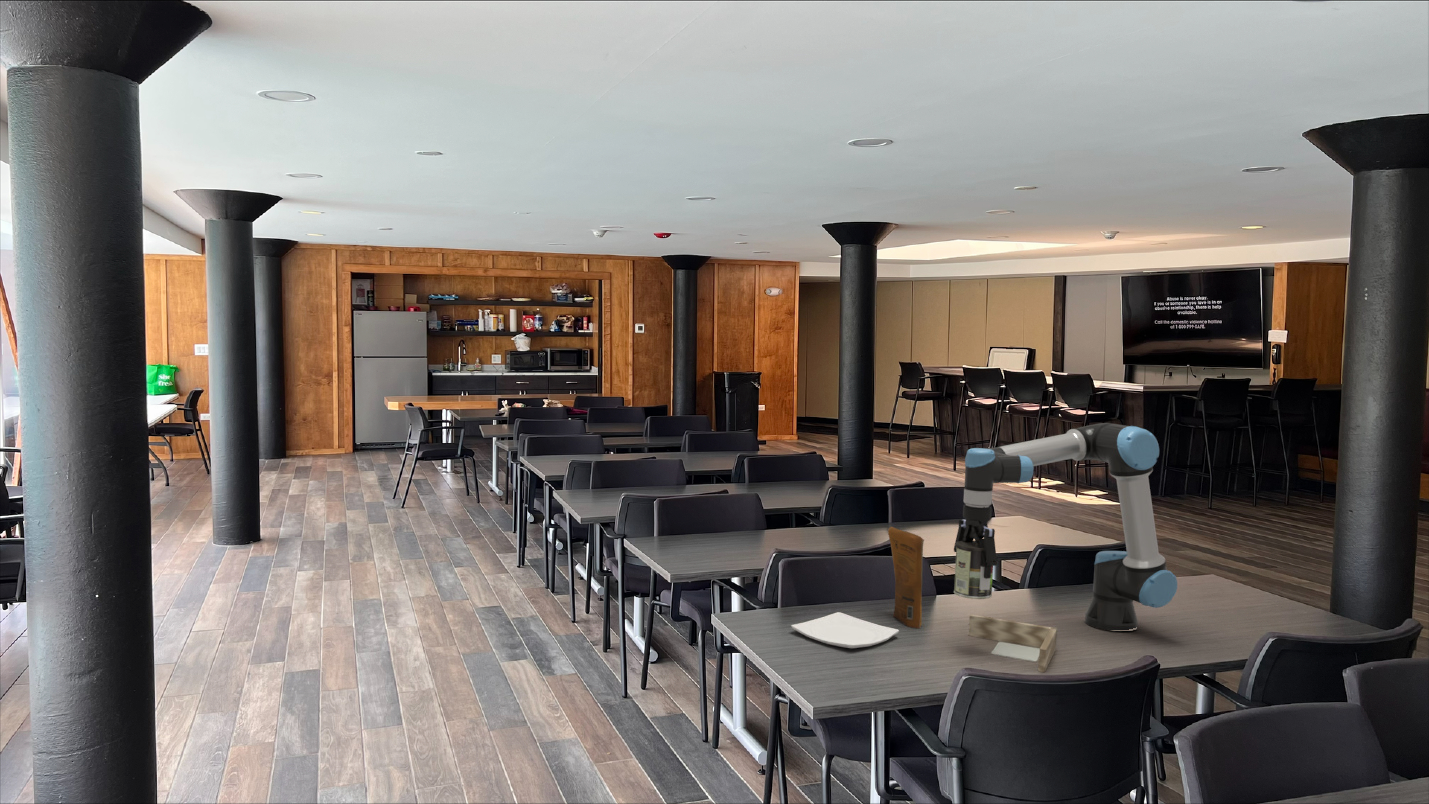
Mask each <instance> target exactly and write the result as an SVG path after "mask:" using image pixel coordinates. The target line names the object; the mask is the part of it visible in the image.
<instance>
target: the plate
mask: <svg viewBox="0 0 1429 804" xmlns="http://www.w3.org/2000/svg"><path fill="white" fill-rule="evenodd" d="M790 626H791V628H792V629H793V630H794V631H796V632H797V633H800V634H801V635H804V636H805V637H807V638H810V639H812V640H815V641H818V642H821V643H823V644H826V645H831V646H835V647H840V648H847V649H857V648H866V647H872V646H874V645H878V644H881V643H883V642H887V641H888V640H889V639H891V638H893V637H895V635H897V634H899V632H900V630H899V629H897V628H893V627H888V626H884V625H880V624H876V623H873V622H870V621H867V620H863V619H861V618H858V617H855V616H852V615H848V614H846V613H843V612H840V611H839V612H838V611H837V612H834V613H831V614H828V615H825V616H823V617H819V618H818V617H817V618H815V619H811V620H807V621H805V622H800V623H795V624H791V625H790Z"/></svg>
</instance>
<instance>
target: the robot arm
mask: <svg viewBox="0 0 1429 804" xmlns="http://www.w3.org/2000/svg"><path fill="white" fill-rule="evenodd" d="M1159 456H1160V446H1159V443H1158V440H1157V437H1156V436H1155V435H1154V434H1153V433H1152V432H1151V431H1149V430H1147V429H1145V428H1141V427H1138V426H1135V425H1130V426H1129V425H1124V424H1117V423H1112V422H1111V423H1110V422H1104V423H1103V422H1102V423H1100V422H1099V423H1095V424H1089V425H1086V426H1080V427H1076V428H1071V429H1068V430H1067V431H1066V433H1064V434H1058V435H1051V436H1048V437H1042V438H1037V439H1033V440H1028V441H1027V440H1026V441H1023V442H1018V443H1011V444H1007V445H1002V446H997V447H992V448H990V447H989V448H985V447H983V448H981V447H980V448H979V447H974V448H973V447H972V448H970V449H968V450H967V451H966V455H965V459H964V463H965V464H964V467H965V470H964V472H965V473H964V488H963V503H964V504H963V505H962V506H963V507H962V518H963V519H959V520H958V529H957V533H956V537H955V543H954V546H953V552H954V553H956V547H957V546H956V542H958V541H963V542H973V541H975V542H976V543H977V544H978V547H979V548H985V551H982V554H981V559H982V563H983V564H982V565H981V569H980V588H979V589H980V590H990V578H991V567H992V566H993V567H994V566H995V567H997V565H998V560H997V559H998V558H997V552H996V542H995V533H996V531H995V528H989V527H988V521H990V520H991V519H992V506H991V505H992V503H993V489H994V488H993V487H994V484H1013V483H1014V484H1021V483H1028V482H1029V481H1031V480H1032V478H1033V476H1034V467H1037V466H1042V465H1047V464H1050V463H1051V464H1052V463H1056V462H1061V461H1066V460H1073V461H1076V462H1078V461H1083V460H1084V461H1085V460H1090V461H1091V460H1092V461H1099V462H1103V463H1108V469H1109V475H1110V476H1111V477H1113V478H1114V479H1116V486H1117V493H1118V499H1119V500H1118V501H1119V505H1120V514H1121V519H1122V521H1121V522H1122V527H1123V535H1124V541H1125V547H1126V548H1125V550H1126V551H1125V550H1123V551H1122V550H1102V551H1099V552H1097V553H1096V555H1095V561H1094V563H1093V565H1094V566H1093V567H1094V571H1093V583H1092V585H1093V586H1092V598H1091V601H1090V603H1089V605H1088V608H1087V609H1086V612H1085V616H1084V622H1085V624H1087V625H1088V626H1091V628H1092V627H1093V628H1096V629H1099V628H1100V629H1099V630H1103V629H1104V631H1108V630H1129V629H1133V628H1136V627H1137V626H1138V623H1139V622H1138V621H1139V620H1138V618H1137V617H1138V616H1137V613H1136V609H1135V605H1134V602H1137V603H1140V604H1141V605H1143V606H1145V607H1151V608H1153V609H1154V608H1155V609H1157V608H1163V607H1165V606H1166V605H1168V604H1169V603H1171V601H1172V600H1173V598H1174V597H1175V595H1176V593H1177V590H1178V579H1177V577H1176V575H1175V574H1174V573H1173V572H1172V571H1171V570H1168V568H1167V562H1166V558H1165V556H1164V555H1162V554H1161V553H1159V546H1158V545H1159V544H1158V538H1157V533H1156V531H1157V530H1156V524H1155V523H1156V522H1155V517H1154V509H1153V503H1152V502H1153V501H1152V495H1151V494H1152V493H1151V489H1150V488H1151V487H1150V479H1149V476H1150V475H1151V474H1152V472H1153V471H1154V468H1153V467H1154V465H1156V463H1157V462H1158V458H1159ZM986 561H987V562H986ZM1137 628H1138V627H1137Z"/></svg>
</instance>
